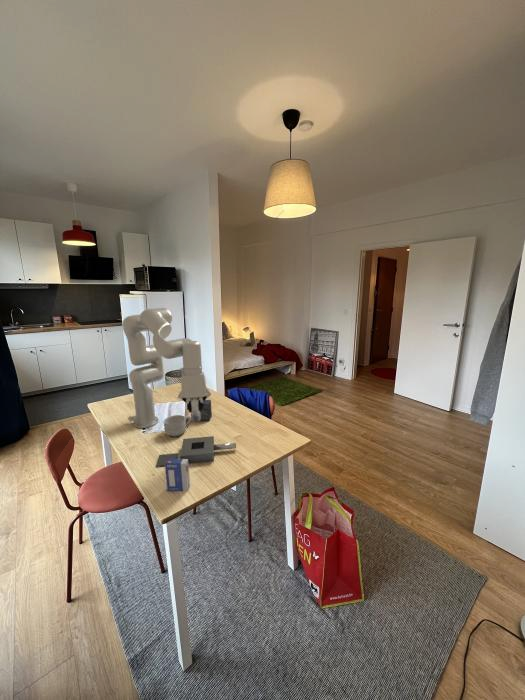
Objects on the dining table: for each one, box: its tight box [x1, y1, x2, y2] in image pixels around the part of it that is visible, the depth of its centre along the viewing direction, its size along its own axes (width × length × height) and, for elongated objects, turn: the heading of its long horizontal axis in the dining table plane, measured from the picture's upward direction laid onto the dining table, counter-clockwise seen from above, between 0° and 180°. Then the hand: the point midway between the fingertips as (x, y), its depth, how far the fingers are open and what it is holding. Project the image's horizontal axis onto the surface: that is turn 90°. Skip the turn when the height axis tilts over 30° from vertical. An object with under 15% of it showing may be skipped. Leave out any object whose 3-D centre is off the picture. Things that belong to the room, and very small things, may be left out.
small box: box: [199, 399, 213, 422], centre depth 162 cm, size 11×6×10 cm, turn 84°
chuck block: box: [179, 435, 237, 465], centre depth 130 cm, size 24×14×4 cm, turn 99°
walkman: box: [164, 458, 191, 492], centre depth 106 cm, size 8×3×12 cm, turn 89°
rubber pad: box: [155, 452, 179, 468], centre depth 125 cm, size 8×8×1 cm
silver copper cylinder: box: [190, 397, 201, 423], centre depth 124 cm, size 4×4×12 cm
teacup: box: [163, 414, 192, 437], centre depth 147 cm, size 14×11×8 cm
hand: (195, 410), depth 125 cm, fingers closed on silver copper cylinder, 4 cm apart
